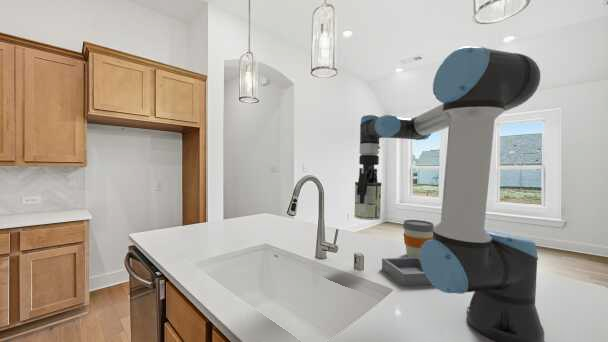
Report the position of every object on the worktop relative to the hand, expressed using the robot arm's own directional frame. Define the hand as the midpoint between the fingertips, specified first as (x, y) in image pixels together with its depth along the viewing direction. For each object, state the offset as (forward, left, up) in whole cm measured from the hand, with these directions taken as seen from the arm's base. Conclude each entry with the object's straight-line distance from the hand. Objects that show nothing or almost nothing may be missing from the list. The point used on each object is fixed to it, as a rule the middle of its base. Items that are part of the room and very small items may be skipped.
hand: (367, 210), depth 106 cm
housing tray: (-13, -11, -21) cm, 28 cm away
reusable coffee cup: (+7, -27, -22) cm, 36 cm away
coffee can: (0, 0, -3) cm, 3 cm away
